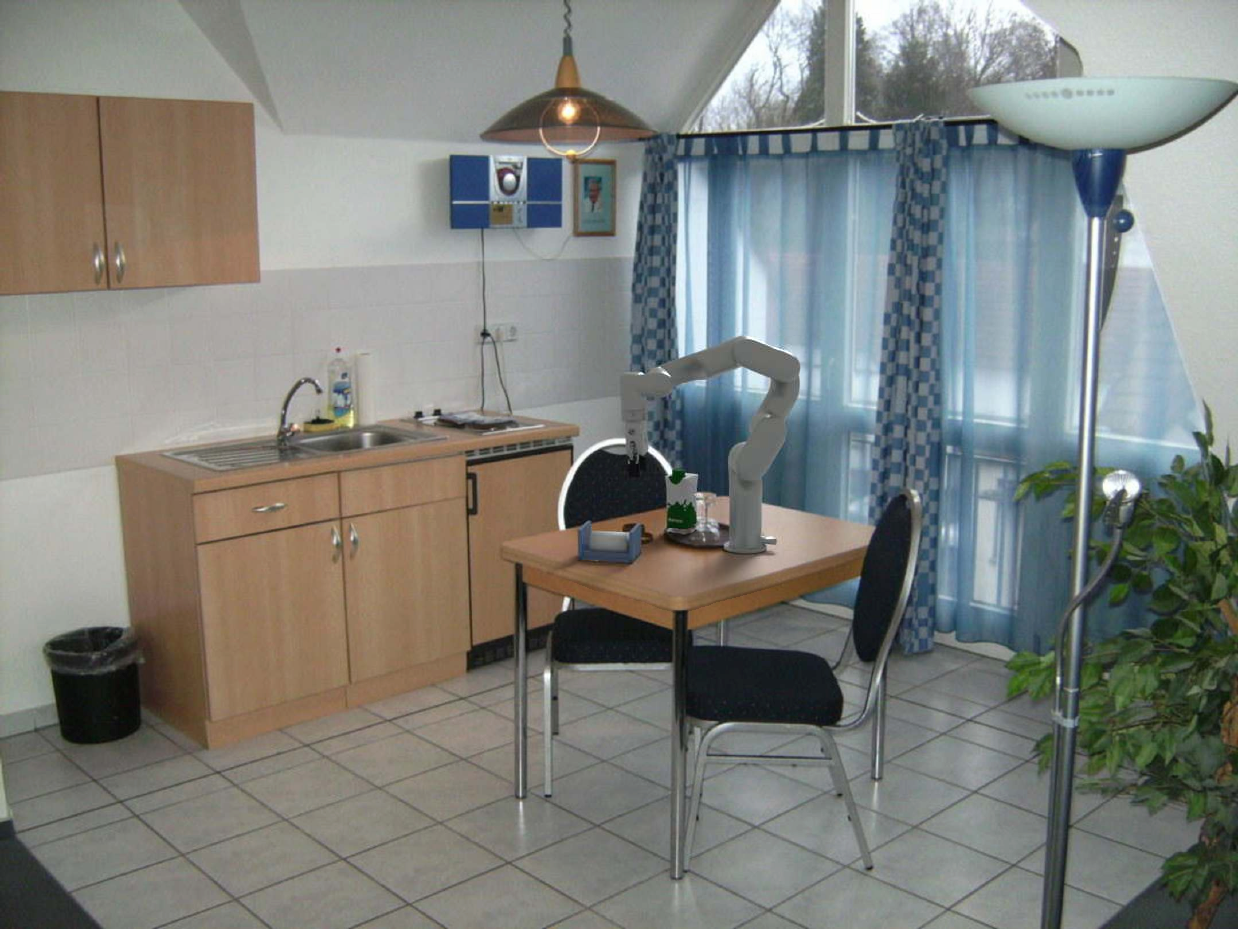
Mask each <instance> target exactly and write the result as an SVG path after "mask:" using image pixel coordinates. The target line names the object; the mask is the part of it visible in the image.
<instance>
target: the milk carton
mask: <svg viewBox="0 0 1238 929" xmlns="http://www.w3.org/2000/svg"><path fill="white" fill-rule="evenodd" d="M664 477H665V478H664V480H665V485H666V530H667V529H668V528H678V529H688V528H691V527H692V526H694V524H696V523H697V524H698V521H697V520H698V519H697V518H698V516H697V509H698V508H697V507H698V506H697V503H698V502H697V501H698V500H697V498H696V496H697V495H696V496H695V495H694V494H697V493H698V492H697V488H698V479H699V474H697V473H687V472H686V469H685V468H673V469H671V473H670V474H668V475H665V476H664Z"/></svg>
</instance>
